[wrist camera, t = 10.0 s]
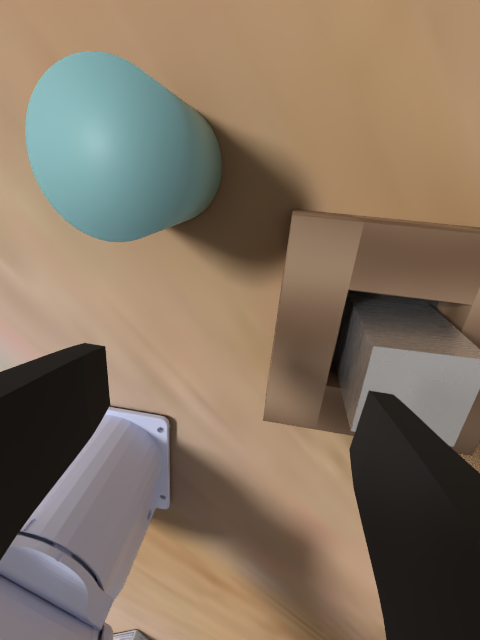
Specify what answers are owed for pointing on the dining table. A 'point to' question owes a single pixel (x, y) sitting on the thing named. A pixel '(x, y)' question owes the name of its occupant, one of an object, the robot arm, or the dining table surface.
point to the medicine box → (130, 636)
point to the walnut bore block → (366, 279)
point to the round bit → (118, 149)
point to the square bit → (406, 361)
